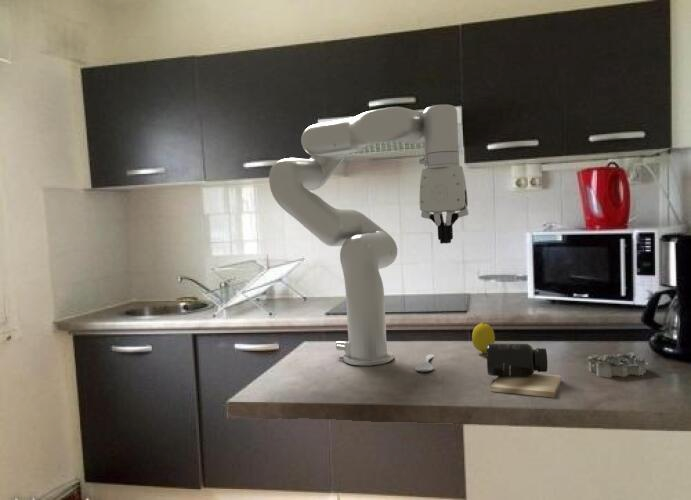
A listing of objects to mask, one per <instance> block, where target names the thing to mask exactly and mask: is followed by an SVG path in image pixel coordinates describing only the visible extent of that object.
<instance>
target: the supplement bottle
mask: <svg viewBox="0 0 691 500" xmlns="http://www.w3.org/2000/svg"><path fill="white" fill-rule="evenodd" d="M548 364H549V363H548V354H547V348H540V347H536V349H535V348H534V347H532V345H530V344H529V343H516V342H515V343H512V342H511V343H504V342H503V343H502V342H501V343H498V342H497V343H495V342H494V343H489V344H487V352H486V368H487V369H486V373H487V375H488V376H490V377H498V376H531V375H532V374H535V372H537V373H541V372H542V373H546V372H548Z"/></svg>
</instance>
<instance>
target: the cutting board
mask: <svg viewBox="0 0 691 500" xmlns="http://www.w3.org/2000/svg"><path fill="white" fill-rule="evenodd" d="M561 382H562V375H556V374H543V373H533V374H532V375H531V376H496V379H495V380H494V382H492V383H491V385H490V392H494V393H495V392H496V393H504V394H514V395H516V394H517V395H527V396H536V397H545V398H546V397H547V398H555V397H556V394H557V392H558V389H559V387H560V384H561Z"/></svg>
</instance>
